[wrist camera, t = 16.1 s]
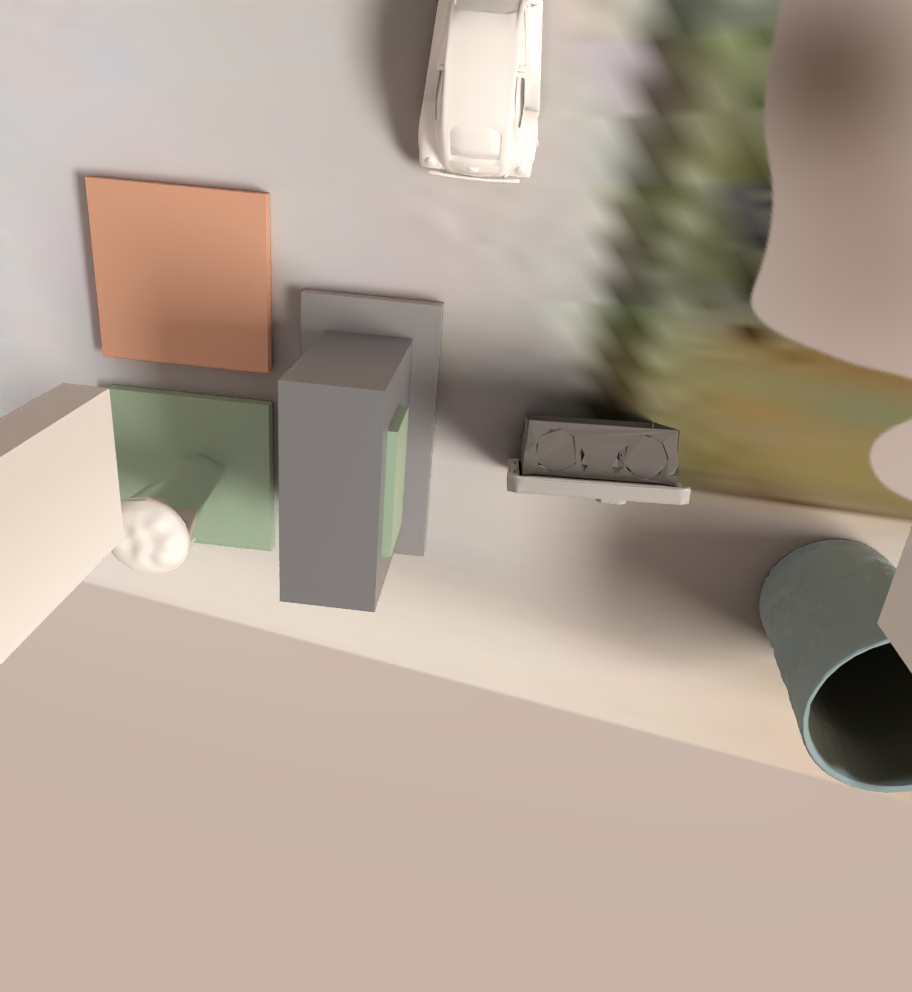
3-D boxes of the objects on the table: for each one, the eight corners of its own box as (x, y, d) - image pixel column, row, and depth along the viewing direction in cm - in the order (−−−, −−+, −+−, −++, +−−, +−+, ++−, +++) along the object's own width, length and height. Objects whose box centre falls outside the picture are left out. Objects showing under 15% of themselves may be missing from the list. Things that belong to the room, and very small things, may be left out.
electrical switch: (506, 470, 51) (503, 523, 42) (512, 387, 49) (510, 425, 40) (658, 481, 50) (688, 537, 42) (670, 398, 49) (703, 439, 40)
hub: (305, 288, 47) (244, 333, 37) (443, 302, 47) (420, 351, 37) (303, 535, 54) (252, 629, 44) (425, 549, 53) (401, 647, 43)
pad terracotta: (91, 176, 45) (84, 177, 45) (269, 193, 45) (265, 194, 44) (109, 352, 50) (102, 356, 49) (271, 369, 49) (268, 373, 48)
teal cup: (722, 637, 54) (770, 766, 44) (786, 505, 50) (857, 611, 39) (867, 675, 55) (951, 814, 44) (943, 547, 50) (1057, 665, 40)
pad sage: (112, 384, 50) (106, 388, 50) (272, 401, 50) (268, 405, 49) (126, 528, 55) (120, 534, 54) (274, 545, 54) (270, 551, 54)
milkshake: (234, 435, 50) (169, 504, 41) (238, 514, 53) (178, 595, 44) (162, 429, 51) (81, 496, 41) (169, 507, 53) (94, 587, 44)
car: (532, 184, 44) (533, 191, 40) (417, 173, 44) (406, 178, 40) (565, -84, 39) (569, -109, 35) (435, -96, 39) (424, -122, 35)
